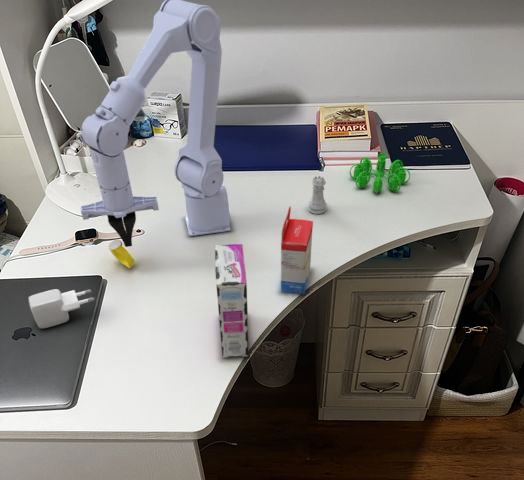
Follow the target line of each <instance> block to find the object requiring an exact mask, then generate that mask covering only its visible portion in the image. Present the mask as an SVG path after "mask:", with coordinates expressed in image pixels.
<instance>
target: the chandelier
mask: <svg viewBox="0 0 524 480" xmlns="http://www.w3.org/2000/svg"><path fill="white" fill-rule="evenodd" d="M387 158H388V155H387V154H385V153H378V154H377V162H376V168H375V169H376V170H375V169H373V165H372V161H371V158H369V157H367V156H363V157H361V158H360V160H359V163H354V164H353V165H352V166H351V167H350V169H349V176H350V178H351V179H353V180H354V181H355V186H356V188H358V189H364V188H366V187H367V186H368V184H369V182H370V181H371V179H372V178H374V177H375V178H374V181H373V183H372V184H373V185H372V191H373V192H375V194H378V193H380V192H381V191H382V189H383V179H382V178H384V179H385V180H387V187H388V189H389V190H390V191H391V192H392V193H393V192H394V193H396V192H398V191H399V190H400V189H401V187H402V185H406V184H407V183H408V182H409V181H410V179H411V172H410V170H409V169H408V168H406V167H404V163H403V161H402V160H400V159H396V160H394V161H393V162H392V163H391V164H390V166H389V168H388V170H386V171H385V169H386V164H387V162H386V161H387ZM353 168H354V169H353ZM352 169H353V175H352V172H351V171H352ZM372 171H373V172H372ZM407 173H408V179H407V180H406V177H407ZM371 175H372V176H371ZM386 176H388V177H386Z"/></svg>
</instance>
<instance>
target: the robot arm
mask: <svg viewBox="0 0 524 480" xmlns="http://www.w3.org/2000/svg"><path fill="white" fill-rule="evenodd" d="M152 25H153V26H152V30H151V32H150V34H149V35H148V37H147V39H146V40H145V43H144V45H143V47H142V49H141V50H140V52H139V54H138V55H137V57H136V60H135V62H134V64H133V65H132V67H131V69H130V70H129V72H128V75H126V76H120V77H117V78H116V80H112V81H111V83H110V85H109V88H110V89H109V91H108V93H107V94H106V96H105V97H104V99H103V100H102V102H101V104H100V105H99V106H97V108H96V109H95V113H93V114H91V115H88V116H87V117H86V118H85V119H84V120H83V122H82V125H81V130H80V131H81V133H79V135H78V136H79V138H80V140H81V142H82V143H83V144H84V145H85V146H87V148H88V150H89V153H90V155H91V159H92V163H93V164H92V165H93V167H94V171H95V175H96V179H97V183H98V187H99V190H100V191H99V192H100V195H101V198H102V200H99V201H96V202H93V203H89V204H85V205H81V206H80V214H81V217H82V220H83V221H85V220H89V219H90V218H95V217H103V216H107V222H108V225H109V226H110V227H111V228H112V229H113V230H114V231H115V232H116V233H117V234H118V236H119V237H120V239H121V242H122V243H123V245H124V248H128V247H132V246H133V232H134V227H135V225H136V222H137V221H136V220H137V215H136V212H141V211H151V210H153V211H159V209H160V208H159V203H158V198H157V197H158V196H137V195H135V196H134V193H133V190H132V185H131V181H130V176H129V171H128V166H127V161H126V156H125V152H124V150H125V148H126V147H127V145H128V140H129V132H130V128H131V127H130V126H131V125H132V123H133V122H134V120H135V119H136V117H137V115H138V114H139V112H140V111H141V110H142V107H143V106H144V104H145V103H146V101H147V96H146V88H147V87H148V85H149V84H150V83H151V82H152V80H153V79H154V78H155V76H156V75H157V73H158V72H159V70H161V68H162V67H163V65H164V64H165V63H166V61H167V60H168V59H169V57H170V56H172V54H175V53H182V52H185V53H186V54H187V55H188V56H189V57H190V59H191V70H190V71H191V72H190V87H189V88H190V89H189V102H188V105H189V106H188V121H187V134H186V135H187V138H186V144H184V145H182V146H181V148H179V150H178V156H177V160H176V163H175V164H174V176H175V179H176V180H177V182H179V183H181V187H182V189H183V194H184V200H185V201H184V202H185V208H186V216H184V220H185V223H186V228H187V233H188V236H189V237H195V236H202V235H207V234H209V235H210V234H215V233H223V232H224V233H225V232H230V231H231V222H230V216H231V215H230V205H229V199H228V198H229V196H228V192H227V188H226V186H225V185H223V183H224V171H223V168H222V164H223V160H222V158H221V156H220V155H219V153H218V152H217V150H216V148H215V146H214V144H215V136H216V135H215V134H216V123H217V113H218V101H219V90H220V89H219V88H220V78H221V67H222V66H221V65H222V55H223V50H222V45H221V44H222V43H221V40H220V39H221V27H222V20H221V19H220V17H219V16H218V14H216V12H215V10H214V9H213V8H212V7H211V6H209V5H207V4H199V3H194V2H190V1H186V0H163V2H162V3H161V5H160V6H159V9H158V11H157V12H156V13H155V14H154V15H153V24H152Z"/></svg>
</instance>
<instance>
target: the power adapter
mask: <svg viewBox="0 0 524 480" xmlns="http://www.w3.org/2000/svg"><path fill="white" fill-rule="evenodd" d="M92 292H93V291H92V289H89V288H88V289H85V290H82V291H78V292H76V290H75V289H71V290H69V291H65V292H61V290H60V289H58V288H54V289H49V290H46V291H42V292H37V293H35V294H32V295H30V296H28V305H29V308H30V311H31V314H32V316H33V318H34V321H35V323H36V325H37V328H39V329H48V328H51V327H55V326H58V325H61V324H65V323H67V322H69V321H70V314H69V312H72V311H75V310H79V309H81V305H83V304H85V303H90V302H94V301H95V297H93V296H91V297H87V298H85V299H81V300H79V299H78V297H80V296H81V297H82V296H84V295H88V294H92Z"/></svg>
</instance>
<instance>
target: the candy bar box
mask: <svg viewBox="0 0 524 480" xmlns="http://www.w3.org/2000/svg"><path fill="white" fill-rule="evenodd" d="M214 267H215V268H214V270H215V285H216V286H215V287H216V297H217V310H218V321H219V332H220V333H219V334H220V344H221V345H220V346H221V358H222V359H235V358H236V359H237V358H249V355H250V352H249V351H250V349H249V348H250V346H249V345H250V344H249V343H250V342H249V312H248V310H249V308H248V307H249V306H248V284H247V283H248V282H247V275H246V274H247V273H246V264H245V255H244V246H243V244H242V243H233V244H231V243H230V244H218V245H217V244H216V245H214Z"/></svg>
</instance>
